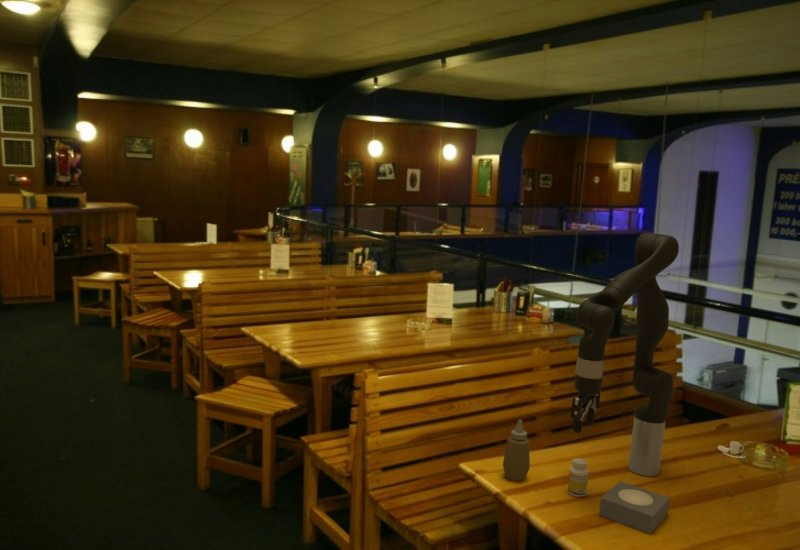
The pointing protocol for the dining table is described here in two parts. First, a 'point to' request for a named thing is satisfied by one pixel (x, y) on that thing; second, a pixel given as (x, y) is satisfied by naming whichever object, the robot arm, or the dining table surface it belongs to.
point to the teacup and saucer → (731, 449)
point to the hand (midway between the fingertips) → (583, 428)
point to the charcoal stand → (634, 507)
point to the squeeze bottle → (517, 454)
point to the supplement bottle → (578, 478)
